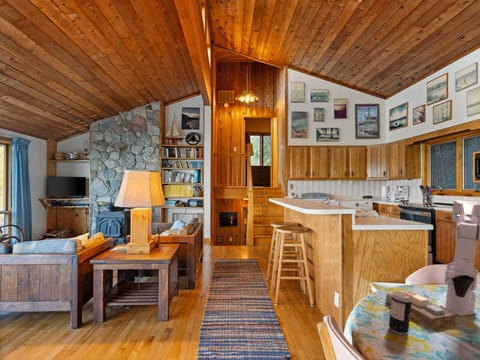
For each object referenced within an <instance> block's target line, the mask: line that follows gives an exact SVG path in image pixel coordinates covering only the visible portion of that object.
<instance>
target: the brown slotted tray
mask: <svg viewBox="0 0 480 360" xmlns="http://www.w3.org/2000/svg"><path fill="white" fill-rule="evenodd" d="M407 292H408V293H410V294H412V295H416V294H415V293H412V292H411V291H407ZM393 294H394V292H393V293H386V297H385V303H386V302H387V303H388V305H389V304H390V305H389V306H391V300H392V295H393ZM387 303H386V304H387ZM429 305H435V306H437V307H439V308H441V309H443V310H444V315H438V316H436V315H434V314H432V313H430V312H428V311H426V310H425V308H426V307H419V306H417V305H415V304H413V303H411V312H410V318H412V319H414V320H415V321H418V322H419V323H421V324H422V325H424V326H426V327H427V328H430V329H435V328H441V327H448V326H453V325H456V320H457V319H456V318H457V314H455V313H453V312H450V311H448V310H446V309H444V308H442V307H440V305H437V304H435V303H433V302H431V301H429V302H428V306H429Z"/></svg>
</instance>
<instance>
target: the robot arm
mask: <svg viewBox="0 0 480 360" xmlns="http://www.w3.org/2000/svg"><path fill="white" fill-rule="evenodd" d="M451 213H452V217H451V218H452V222H454V223H455V224H456V226H455V249H454V257H453V261H452V262H449V263H447V265H446V268H445V272H444V274H445V275H444V284H445V285H447V289H446V297H445V298H446V300H445V304H441V305H439V306H440V307H442V308H444V309H446V310H448V311H450V312H452V313H454V314H456V316H459V317H463V316H471V315H477V312H476V311H475V307H476V306H475V305H476V299H477V298H476V297H477V296H476V293H475V290H476V289H477V281H478V275H479V269H476V268H475V263H476V262H475V261H476V253H477V246H478V245H477V244H478V242H479V240H480V202H477V201H470V200H469V201H468V200H460V199H459V200H458V199H454V200H453V205H452V212H451Z"/></svg>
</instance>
